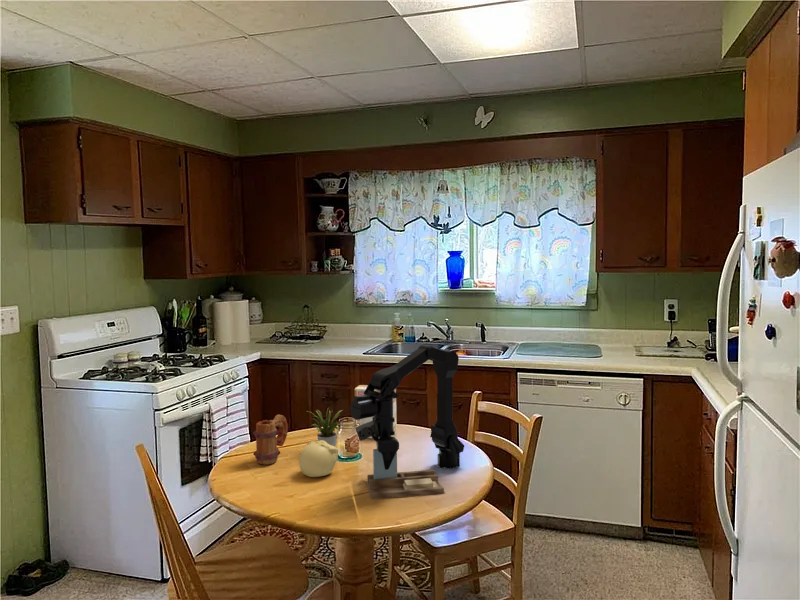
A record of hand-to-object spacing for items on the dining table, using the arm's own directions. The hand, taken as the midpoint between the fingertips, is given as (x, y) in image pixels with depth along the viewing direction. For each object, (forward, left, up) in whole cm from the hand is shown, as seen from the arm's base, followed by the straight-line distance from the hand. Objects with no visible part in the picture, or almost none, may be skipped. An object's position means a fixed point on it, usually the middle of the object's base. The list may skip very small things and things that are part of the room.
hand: (384, 464), depth 186 cm
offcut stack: (-10, +6, -6) cm, 13 cm away
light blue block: (0, 0, -6) cm, 7 cm away
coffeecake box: (-5, -51, -8) cm, 52 cm away
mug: (+34, -32, -8) cm, 48 cm away
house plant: (+16, -37, -8) cm, 41 cm away
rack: (-6, +3, -8) cm, 10 cm away
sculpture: (+19, -16, -8) cm, 26 cm away
